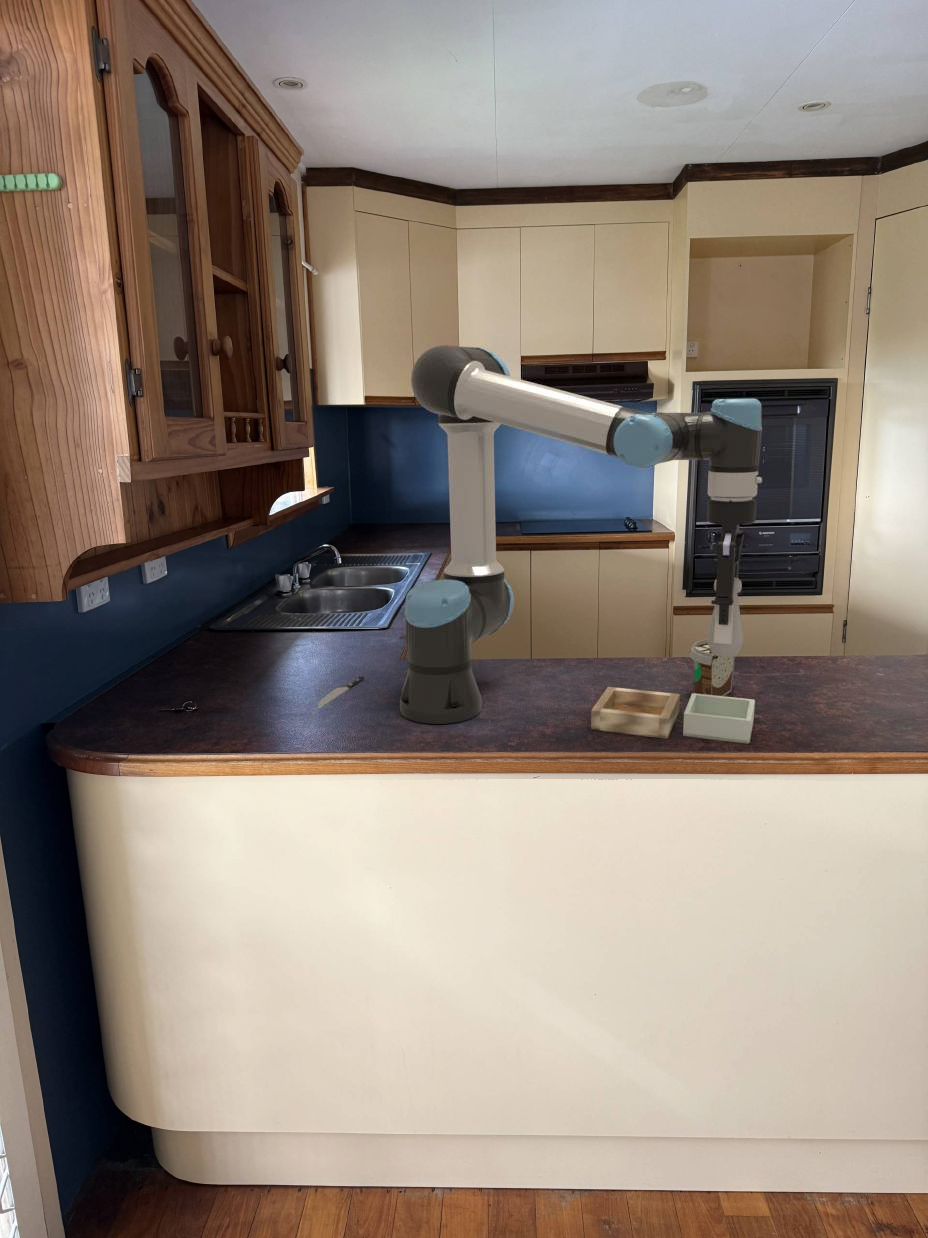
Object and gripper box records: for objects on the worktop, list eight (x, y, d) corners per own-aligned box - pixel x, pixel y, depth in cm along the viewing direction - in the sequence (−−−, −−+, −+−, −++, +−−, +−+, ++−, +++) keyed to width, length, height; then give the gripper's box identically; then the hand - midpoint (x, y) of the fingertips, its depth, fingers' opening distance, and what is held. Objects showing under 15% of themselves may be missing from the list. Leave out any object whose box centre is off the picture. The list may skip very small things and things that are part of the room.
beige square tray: (591, 729, 144) (591, 710, 143) (607, 704, 155) (608, 686, 155) (667, 739, 139) (668, 719, 138) (678, 712, 151) (679, 694, 150)
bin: (682, 735, 140) (684, 713, 139) (691, 714, 150) (692, 693, 149) (749, 743, 136) (750, 720, 135) (753, 721, 146) (754, 699, 145)
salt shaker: (711, 647, 143) (715, 572, 140) (745, 651, 141) (750, 575, 137) (702, 656, 139) (705, 579, 135) (737, 660, 136) (741, 582, 133)
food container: (704, 683, 166) (706, 634, 164) (734, 688, 162) (737, 639, 160) (677, 700, 157) (679, 649, 155) (708, 706, 153) (710, 654, 151)
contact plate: (603, 723, 145) (603, 721, 145) (615, 705, 153) (615, 703, 153) (658, 730, 141) (658, 727, 141) (667, 711, 150) (667, 709, 149)
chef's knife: (303, 711, 157) (317, 712, 156) (302, 705, 157) (316, 706, 156) (353, 679, 174) (365, 680, 173) (352, 674, 174) (365, 675, 173)
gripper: (753, 505, 123) (744, 655, 129) (760, 492, 140) (751, 625, 146) (700, 504, 126) (694, 651, 132) (714, 491, 143) (707, 622, 149)
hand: (724, 637), depth 139 cm, fingers closed on salt shaker, 6 cm apart
